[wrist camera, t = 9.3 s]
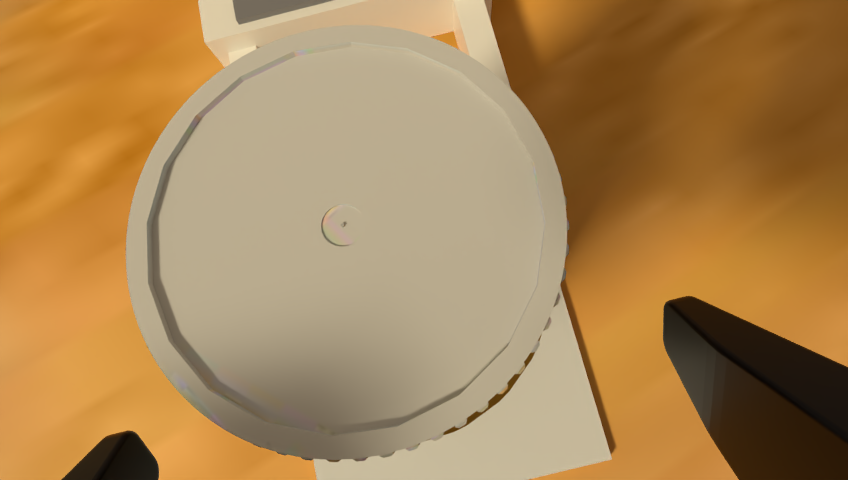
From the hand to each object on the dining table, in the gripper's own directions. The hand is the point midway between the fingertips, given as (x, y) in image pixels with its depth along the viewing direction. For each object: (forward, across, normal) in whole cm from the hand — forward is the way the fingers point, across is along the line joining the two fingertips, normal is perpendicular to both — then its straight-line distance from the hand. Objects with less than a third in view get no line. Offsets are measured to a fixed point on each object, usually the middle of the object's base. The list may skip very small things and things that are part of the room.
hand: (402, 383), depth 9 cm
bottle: (+11, 0, +8) cm, 13 cm away
